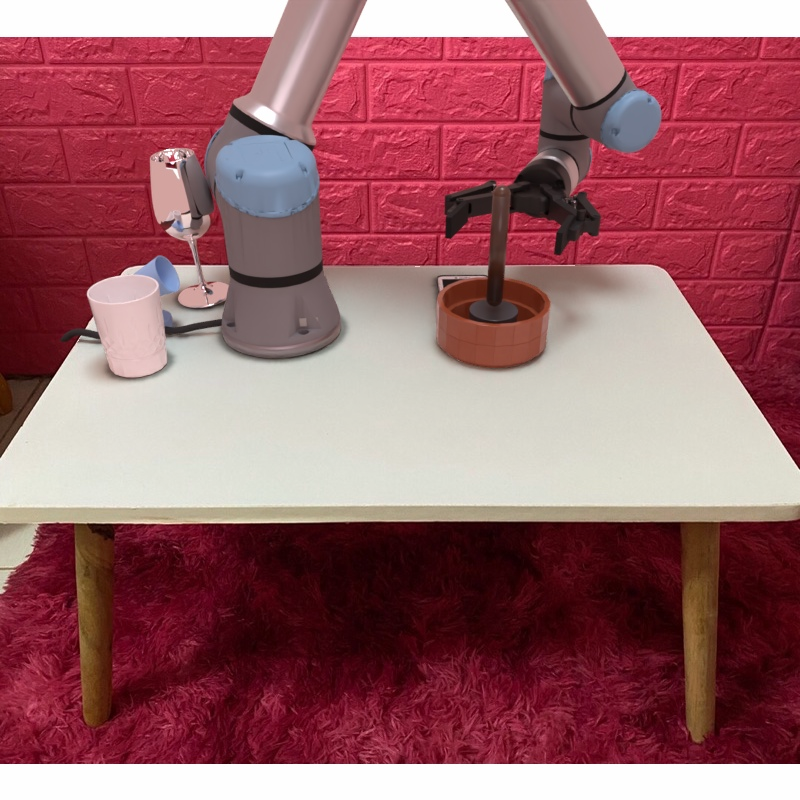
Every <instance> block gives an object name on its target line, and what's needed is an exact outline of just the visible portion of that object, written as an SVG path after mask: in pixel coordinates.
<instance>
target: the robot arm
mask: <svg viewBox="0 0 800 800" xmlns="http://www.w3.org/2000/svg"><path fill="white" fill-rule="evenodd" d="M504 1H505V3H506V4H507V6H508V7H509V9H510V11H511V12H512V13H513V15H514V17H515V19H516V20H517V21H518V23H519V25H520V26H521V28H522V29H523V30H524V32H525V34H526V35H527V37H528V38H529V40H530V41H531V44H533V46H534V48H535V49H536V51H537V52H538V53H539V56H540V57H541V59H542V60H543V62H544V64H545V71H544V75H543V76H544V77H543V80H542V95H541V96H542V97H541V109H540V124H539V132H538V140H537V141H538V142H537V150H536V151H537V152H536V155H535V156H534V157H533V158H532V159H531V160H530V161H529V162H528V163H527V164H526V166H524V167H523V168H522V169H521V171H520V172H518V174H517V176H516V177H515V179H514V180H513V182H512V183H511V184H508V185H506V186H507V187H508V188H509V189H510V192H511V197H510V210H509V215H510V214H516V213H519V214H525V215H527V216H529V217H531V218H535V219H546V220H547V221H551V222H552V221H554V222H556V223H557V224H558V225H559V228H558V229H557V231H556V233H555V241H554V250H553V255H555V256H561V255H562V253H563V252H564V250H565V249H566V248H567V246H568V244H569V243H570V242H578V241H579V239H580V238H581V237H582V236H583V235H584V233H587V234H588V235H589V236H591V237H599V235H600V227H601V220H602V215H601V214H600V212H599V211H598V209H596V208H595V206H594V205H593V204H592V203H591V201H590V200H589V199H588V192H586V191H582V190H581V191H578V192H577V193H575V194H573V193H574V192H575V190H576V188H577V187H578V186H579V184H581V183H582V181H584V179H585V178H586V176H587V174H588V173H589V172H590V168H591V165H592V160H593V151H592V148H591V139H592V140H593V141H595V142H597V143H598V144H601V145H603V146H604V147H605V148H607V149H608V150H615V151H617V152H620V153H623V154H633V153H637V152H639V151H641V150H643V149H644V148H645V147H647V146H648V145H649V144H650V143H651V142H652V141H653V140H654V139H655V137H656V135H657V134H658V131H659V129H660V126H661V123H662V110H661V106H660V103H659V101H658V100H657V99H656V98H655V97H654V96H653V95H651V94H649V92H647V91H646V90H644V89H642V88H638V86H636V84H635V83H634V81H633V80H632V79H633V78H632V77H631V76H630V74H629V71H627V70H626V67H625V66H624V64H623V62H622V61H621V59H620V57H619V55H618V53H617V51H616V50H615V48H614V46H613V45H612V42H611V41H610V40H609V38H608V36H607V34H606V33H605V30H604V29H603V27H602V25H601V23H600V21H599V19H598V18H597V16H596V14H595V12H594V11H593V9H592V8H591V6H590V4H589V2H588V0H504ZM367 2H368V0H287V2H286V5H285V7H284V10H283V12H282V14H281V17H280V18H279V19H280V20H279V22H278V24H277V27H276V28H275V32H274V34H273V36H272V38H271V41H270V44H269V46H268V48H267V52H266V53H265V55H264V58H263V61H262V63H261V65H260V68H259V71H258V73H257V75H256V78H255V80H254V82H253V85H252V86H251V87H252V88H251V90H250V92H248V93H247V94H245V95H243V96H240V97H237V98H234V99H233V101H232V104H231V106H230V109H229V110H228V113H227V115H226V118H225V120H224V123H223V125H221V127H220V128H219V129H217V131H216V132H214V134H213V136H212V137H211V138H210V140H209V143H208V144H207V147H206V150H205V151H206V152H205V155H204V165H203V166H204V175H205V178H206V180H207V182H208V185H209V187H210V190H211V193H212V196H213V199H214V200H215V201H214V202H215V203H216V205H217V208H218V210H219V211H218V212H219V213H220V217H221V222H222V227H223V236H224V243H225V251H226V259H227V267H228V273H229V282H228V285H229V287H228V291H227V296H226V300H225V301H224V305H223V311H222V316H221V318H218V319H212V320H206V321H199V322H193V323H190V324H185V325H180V326H174V327H167V326H165V333H166V334H165V335H181V334H186V333H191V332H194V331H195V332H196V331H200V330H205V329H212V328H217V327H221V330H222V331H221V332H222V337H223V340H224V342H225V343H226V345H228V346H229V347H230V348H232V349H233V350H235V351H237V352H239V353H241V354H244V355H246V356H247V355H248V356H253V357H257V358H258V357H259V358H264V359H265V358H266V359H267V358H268V359H280V358H282V359H283V358H293V357H297V356H303V355H306V354H310V353H313V352H316V351H318V350H320V349H322V348H325V347H326V346H328V345H329V344H331V343H333V341H334V340H335V339H337V337H338V336H339V334H340V332H341V329H342V326H341V325H342V324H341V323H342V321H341V313H340V309H339V306H338V304H337V301H336V298H335V297H334V295H333V292H332V289H331V287H330V285H329V282H328V280H327V277H326V275H325V271H324V261H323V259H324V258H323V257H324V256H323V241H322V238H323V237H322V224H321V223H322V222H321V205H320V183H321V182H320V179H321V178H320V173H319V170H318V166H317V160H316V157H315V154H314V153H313V152H314V149H315V147H316V145H317V138H316V136H315V133H314V130H313V123H314V120H315V118H316V116H317V114H318V111H319V109H320V106H321V105H322V102H323V100H324V98H325V96H326V93H327V91H328V89H329V87H330V85H331V82H332V80H333V78H334V76H335V73H336V71H337V69H338V66H339V64H340V62H341V60H342V57H343V55H344V53H345V52H346V48H347V47H348V44H349V42H350V40H351V38H352V35H353V33H354V32H355V29H356V26H357V25H358V22H359V20H360V17H361V16H362V13H363V11H364V8H365V6H366V3H367ZM497 186H498V185H497V180H495V179H490V180H487V181H486V182H484V183H482V184H479V185H476V186H473V187H469V188H465V189H462V190H459V191H456V192H452V193H449V194H448V193H447V194H445V195H444V211H443V213H444V216H445V226H444V227H445V228H444V229H445V231H444V238H445V239H449V240H452V239H453V238H454V236H456V234H458V233H459V232H460V230H461V229H463V227H465V225H467V223H469V219H471V218H474V217H480V216H487V215H492V202H493V191H494V189H495V188H496V187H497ZM572 194H573V195H572ZM571 195H572V196H571ZM78 336H79V337H80V336H81V337H86V338H90V339H94V340H100V341H101V339H100V336H99V334H98V331H97V330H93V329H92V330H91V329H89V328H88V329H87V328H74V329H70V330H69V331H67V332H65V333H64V334H63V335H62V336H61V338H60V340H59V342H61V343H66V342H69V341H70V340H72V339H73V338H75V337H78Z"/></svg>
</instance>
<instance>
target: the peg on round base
mask: <svg viewBox="0 0 800 800" xmlns="http://www.w3.org/2000/svg"><path fill="white" fill-rule="evenodd" d="M507 186H508V185H504V184H500V185H497V187H496V188H495V189H494V191H493V202H492V214H491V217H490V231H489V232H490V235H489V247H488V248H489V250H488V263H487V264H488V266H487V276H488V278H487V294H486V299H485V300H480V301H477V302H475V303H473V304H472V305H471V306H470V308H469V320H473V321H476V322H482V323H492V324H503V323H515V322H517V317H518V309H517V307H516V306H515V305H513V304H512V303H510V302H507V301H503V300H502V299H503V287H504V278H505V275H506V272H505V271H506V259H507V248H508V247H507V246H508V237H509V236H508V234H509V222H510V221H509V220H510V214H509V210H510V197H511V192H510V189H509V188H508V187H507Z"/></svg>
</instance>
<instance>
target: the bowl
mask: <svg viewBox="0 0 800 800" xmlns="http://www.w3.org/2000/svg"><path fill="white" fill-rule="evenodd" d="M487 278H488V277H476V278H470V279H464V280H459V281H457V282H454V283H452V284H449V285H447V286H446V287H445V288H444V289H442V290H441V291H440V292H439V295H438V294H437V297H436V310H435V311H436V314H435V317H436V318H435V338H436V342H437V345H438V346H439V347H440V348H441V349H442V350H443V351H444V352H445V353H446V354H447V355H448V356H450V357H451V358H453V359H455V360H457V361H458V362H461V363H464V364H467V365H470V366H473V367H478V368H479V367H480V368H486V369H487V368H489V369H501V368H503V369H505V368H511V367H512V368H513V367H517V366H520V365H523V364H526V363H529V362H531V361H532V360H533V359H534V358H536V357H538V356H540V354H541V353H542V352H543V351H544V350H545V349H546V347H547V339H548V330H549V321H550V313H551V305H552V301H551V299H550V298H549V296H548V294H547V293H546V292H544V291H543V290H541V289H540V288H539V287H537V286H535V285H533V284H531V283H528V282H525V281H522V280H518V279H514V278H509V277H504V287H503V299H502V300H503V301H507V302H510V303H512V304H513V305H515V306H516V307H517V309H518V317H517V322H515V323H503V324H492V323H482V322H476V321H473V320H469V308H470V306H471V305H472V304H473V303H475V302H477V301H480V300H485V299H486V294H487Z"/></svg>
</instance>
